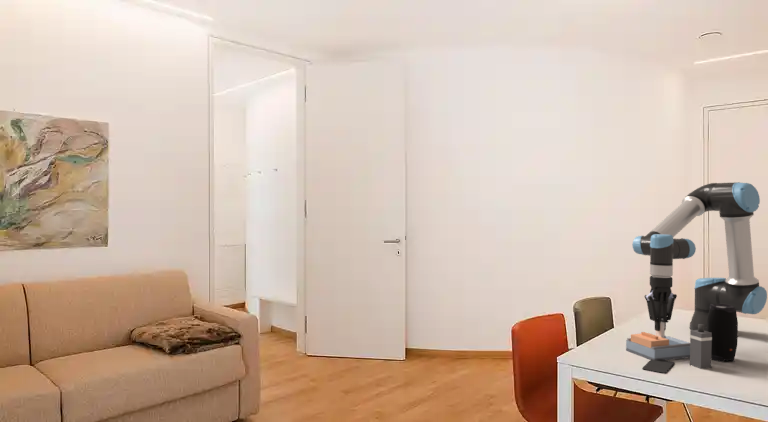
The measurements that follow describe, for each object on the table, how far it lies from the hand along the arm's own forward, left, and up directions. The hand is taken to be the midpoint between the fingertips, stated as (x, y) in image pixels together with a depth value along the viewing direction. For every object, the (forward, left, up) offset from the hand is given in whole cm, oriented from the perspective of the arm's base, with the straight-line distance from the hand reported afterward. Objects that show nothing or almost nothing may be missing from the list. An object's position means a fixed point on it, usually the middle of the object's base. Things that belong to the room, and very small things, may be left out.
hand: (659, 339), depth 202 cm
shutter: (+5, 0, -1) cm, 5 cm away
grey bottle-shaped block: (-2, +16, -5) cm, 17 cm away
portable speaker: (-16, +12, -6) cm, 21 cm away
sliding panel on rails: (-1, 0, -5) cm, 5 cm away
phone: (+12, +12, -6) cm, 18 cm away
